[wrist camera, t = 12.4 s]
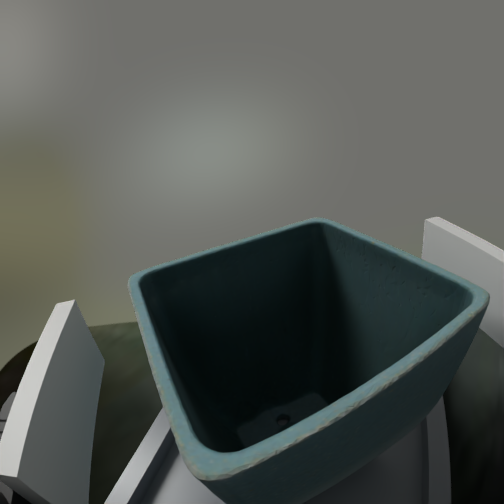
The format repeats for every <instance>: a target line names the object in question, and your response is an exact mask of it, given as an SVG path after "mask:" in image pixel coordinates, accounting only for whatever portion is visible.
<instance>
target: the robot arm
mask: <svg viewBox="0 0 504 504" xmlns="http://www.w3.org/2000/svg"><path fill="white" fill-rule="evenodd" d="M422 259H423V260H425V261H427V262H430V263H432V264H434V265H437V266H439V267H441V268H443V269H446V270H447V271H449V272H451V273H454V274H456V275H457V276H460V277H462V278H464V279H466V280H468V281H470V282H472V283H474V284H476V285H478V286H479V287H481V288H483V289H485V290H486V291H487V292H488V293H489V294H490V302H489V305H488V307H487V310H486V312H485V314H484V317H483V319H482V321H481V324H480V326H479V328H481V329H482V330H483V331H484V332H485V333H486V334H488V335H489V336H490V337H491V338H492V339H494V340H495V341H496V342H497V343H498V344H499V345H500V346H502V347H503V348H504V251H503V250H502V249H500V248H498V247H496V246H494V245H493V244H490V243H489V242H487V241H485V240H483V239H481V238H479V237H478V236H476V235H474V234H472V233H470V232H468V231H466V230H464V229H462V228H460V227H458V226H456V225H454V224H452V223H450V222H448V221H446V220H444V219H442V218H440V217H434V218H430V219H425V225H424V238H423V249H422ZM104 364H105V360H104V358H103V357H102V355H101V353H100V351H99V349H98V347H97V345H96V343H95V341H94V339H93V337H92V335H91V333H90V331H89V329H88V327H87V325H86V323H85V320H84V318H83V316H82V314H81V312H80V309H79V307H78V305H77V302H76V300H72V301H67V302H62V303H57V304H56V306H55V308H54V310H53V312H52V314H51V316H50V318H49V320H48V322H47V324H46V326H45V328H44V330H43V332H42V334H41V337H40V339H39V341H38V343H37V345H36V347H35V350H34V352H33V354H32V356H31V359H30V361H29V363H28V366H27V368H26V371H25V373H24V375H23V378H22V380H21V383H20V385H19V388H18V391H17V392H13V393H12V394H11V395H10V397H9V398H8V399H7V401H6V402H5V403H4V405H3V407H2V409H1V412H0V504H88V500H89V481H90V467H91V455H92V445H93V436H94V427H95V420H96V412H97V405H98V399H99V392H100V386H101V380H102V374H103V369H104Z"/></svg>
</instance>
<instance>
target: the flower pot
mask: <svg viewBox="0 0 504 504" xmlns="http://www.w3.org/2000/svg"><path fill="white" fill-rule="evenodd" d="M128 289H129V292H130V296H131V300H132V304H133V307H134V310H135V314H136V318H137V321H138V324H139V328H140V331H141V335H142V338H143V342H144V345H145V348H146V352H147V356H148V359H149V364H150V366H151V369H152V373H153V376H154V380H155V382H156V385H157V389H158V392H159V395H160V398H161V401H162V404H163V407H164V410H165V413H166V415H167V418H168V420H169V424H170V427H171V430H172V432H173V435H174V437H175V441H176V444H177V446H178V449H179V451H180V454H181V456H182V459H183V461H184V463H185V465H186V466H187V468H188V470H189V471H190V472H191V473H192V475H193V476H194V477H195V478H197V479H198V480H199V481H200V482H201V483H202V484H204V485H205V486H206V487H207V488H208V489H209V490H210V491H211V492H212V493H213V494H215V495H216V496H217V497H218V498H219V499H221V500H222V501H223V502H224V503H226V504H302V503H304V502H306V501H308V500H309V499H311V498H313V497H315V496H317V495H318V494H320V493H322V492H324V491H325V490H327V489H329V488H330V487H332V486H334V485H335V484H337V483H338V482H340V481H342V480H343V479H345V478H346V477H348V476H349V475H351V474H352V473H354V472H355V471H357V470H358V469H360V468H361V467H363V466H364V465H366V464H367V463H369V462H370V461H372V460H373V459H374V458H376V457H377V456H379V455H380V454H381V453H383V452H384V451H386V450H387V449H388V448H390V447H391V446H392V445H394V444H395V443H396V442H398V441H399V440H400V439H402V438H403V437H404V436H406V435H407V434H408V433H409V432H411V431H412V430H413V429H414V428H415V427H416V426H417V425H418V424H419V423H420V422H421V421H422V420H423V419H424V418H425V417H426V416H427V415H428V414H429V413H430V411H431V410H432V409H433V408H434V407H435V405H436V404H437V403H438V401H439V400H440V398H441V397H442V395H443V394H444V392H445V390H446V389H447V387H448V385H449V384H450V382H451V380H452V379H453V377H454V375H455V373H456V371H457V370H458V368H459V366H460V364H461V362H462V360H463V359H464V357H465V355H466V353H467V351H468V349H469V347H470V345H471V343H472V341H473V339H474V337H475V335H476V332H477V330H478V328H479V326H480V324H481V321H482V319H483V317H484V314H485V312H486V310H487V307H488V305H489V302H490V294H489V293H488V292H487V291H486V290H485V289H483V288H481V287H479V286H478V285H476V284H474V283H472V282H470V281H468V280H466V279H464V278H462V277H460V276H457V275H456V274H454V273H451V272H449V271H447V270H446V269H443V268H441V267H439V266H437V265H434V264H432V263H430V262H427V261H425V260H423V259H420V258H418V257H417V256H414V255H412V254H410V253H407V252H405V251H403V250H400V249H398V248H396V247H394V246H391V245H389V244H386V243H384V242H381V241H379V240H377V239H374V238H372V237H369V236H367V235H365V234H363V233H360V232H358V231H356V230H353V229H351V228H349V227H346V226H344V225H342V224H340V223H337V222H335V221H332V220H329V219H324V218H321V217H317V218H312V219H308V220H305V221H300V222H297V223H293V224H290V225H287V226H284V227H281V228H277V229H274V230H271V231H267V232H264V233H261V234H257V235H254V236H251V237H248V238H244V239H241V240H238V241H234V242H231V243H228V244H224V245H221V246H218V247H214V248H211V249H208V250H205V251H201V252H198V253H194V254H191V255H189V256H186V257H182V258H179V259H176V260H173V261H169V262H166V263H163V264H160V265H157V266H154V267H151V268H148V269H145V270H143V271H140V272H138V273H135V274H133V275H132V276H131V277H130V278H129V281H128ZM282 418H285V419H287V420H288V422H287V423H286V424H285V425H279V424H278V421H279V420H280V419H282Z"/></svg>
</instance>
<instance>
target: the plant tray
mask: <svg viewBox="0 0 504 504" xmlns="http://www.w3.org/2000/svg"><path fill="white" fill-rule="evenodd" d="M287 422H288V420H287V419H285V418H282V419H280V420H279V421H278V424H279V425H285V424H286V423H287ZM104 504H226V503H224V502H223V501H222V500H221V499H219V498H218V497H217V496H216V495H215V494H213V493H212V492H211V491H210V490H209V489H208V488H207V487H206V486H205V485H204V484H202V483H201V482H200V481H199V480H198V479H197V478H195V477H194V476H193V475H192V473H191V472H190V471H189V470H188V468H187V466H186V465H185V463H184V461H183V459H182V456H181V454H180V451H179V449H178V446H177V444H176V441H175V437H174V435H173V432H172V430H171V427H170V424H169V420H168V418H167V415H166V413H165V410H164V407H163V408H162V410H161V411H160V413H159V415H158V416H157V418H156V420H155V421H154V423H153V424H152V426H151V428H150V429H149V431H148V433H147V434H146V436H145V438H144V439H143V441H142V443H141V444H140V446H139V447H138V449H137V451H136V452H135V454H134V456H133V457H132V459H131V461H130V462H129V464H128V466H127V467H126V469H125V470H124V472H123V474H122V475H121V477H120V479H119V480H118V482H117V484H116V485H115V487H114V488H113V490H112V492H111V493H110V495H109V497H108V498H107V500H106V501H105V503H104ZM302 504H451V474H450V456H449V443H448V433H447V424H446V415H445V408H444V401H443V395H442V397H441V398H440V400H439V401H438V403H437V404H436V405H435V407H434V408H433V409H432V410H431V411H430V413H429V414H428V415H427V416H426V417H425V418H424V419H423V420H422V421H421V422H420V423H419V424H418V425H417V426H416V427H415V428H414V429H413V430H412V431H411V432H409V433H408V434H407V435H406V436H404V437H403V438H402V439H400V440H399V441H398V442H396V443H395V444H394V445H392V446H391V447H390V448H388V449H387V450H386V451H384V452H383V453H381V454H380V455H379V456H377V457H376V458H374V459H373V460H372V461H370V462H369V463H367V464H366V465H364V466H363V467H361V468H360V469H358V470H357V471H355V472H354V473H352V474H351V475H349V476H348V477H346V478H345V479H343V480H342V481H340V482H338V483H337V484H335V485H334V486H332V487H330V488H329V489H327V490H325V491H324V492H322V493H320V494H318V495H317V496H315V497H313V498H311V499H309V500H308V501H306V502H304V503H302Z"/></svg>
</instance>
